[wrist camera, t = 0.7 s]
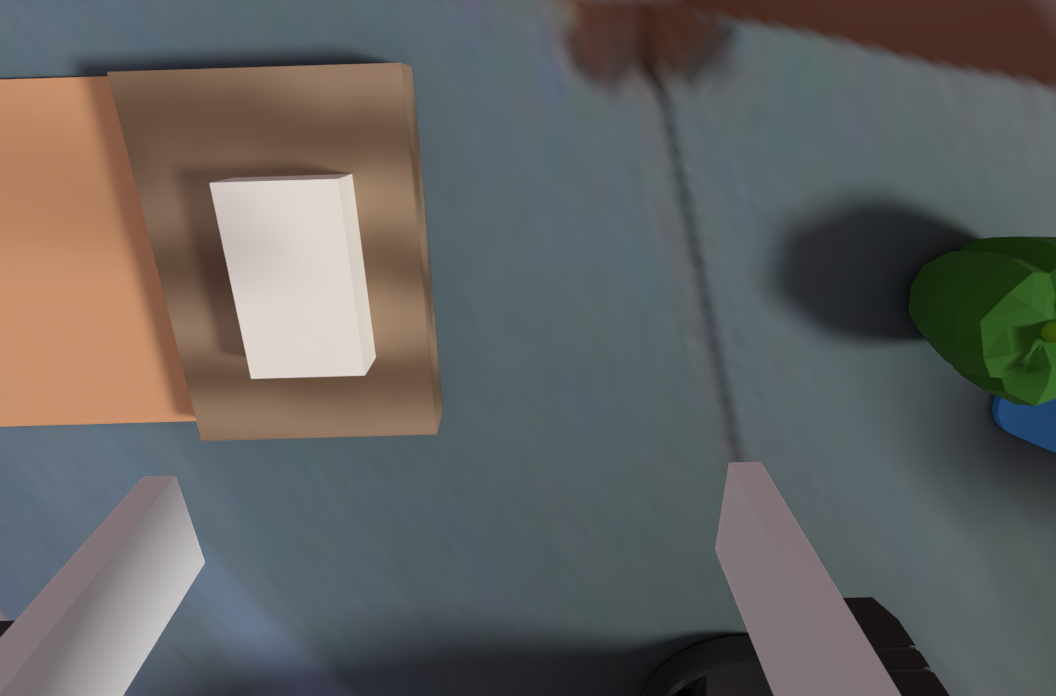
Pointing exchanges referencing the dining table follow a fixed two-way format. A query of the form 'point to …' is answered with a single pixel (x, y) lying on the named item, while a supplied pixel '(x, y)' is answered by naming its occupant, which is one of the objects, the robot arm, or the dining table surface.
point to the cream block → (296, 274)
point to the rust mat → (78, 267)
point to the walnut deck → (287, 150)
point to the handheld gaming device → (1028, 421)
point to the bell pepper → (994, 314)
